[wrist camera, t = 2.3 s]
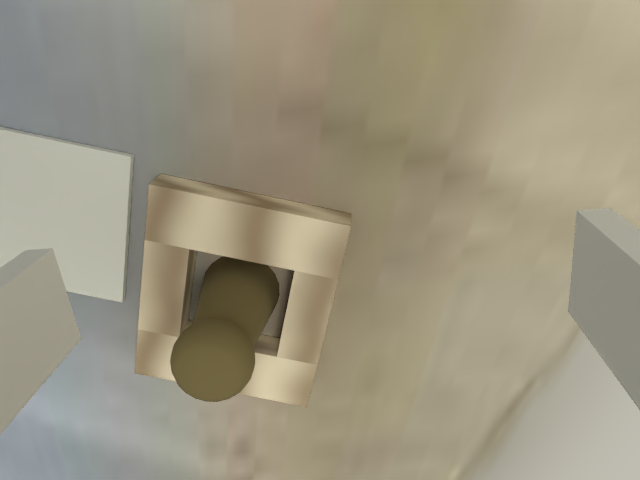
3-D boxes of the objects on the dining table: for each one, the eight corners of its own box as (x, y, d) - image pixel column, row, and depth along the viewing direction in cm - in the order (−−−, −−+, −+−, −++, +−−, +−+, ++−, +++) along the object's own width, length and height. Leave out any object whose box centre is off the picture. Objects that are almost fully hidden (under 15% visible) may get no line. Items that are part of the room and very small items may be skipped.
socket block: (145, 354, 45) (134, 373, 43) (160, 173, 38) (148, 184, 36) (309, 386, 45) (307, 407, 43) (351, 213, 39) (351, 226, 37)
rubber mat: (-25, 268, 42) (-30, 271, 42) (-35, 119, 38) (-41, 120, 37) (125, 298, 43) (122, 302, 42) (134, 154, 38) (130, 156, 37)
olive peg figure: (260, 333, 43) (233, 431, 33) (191, 302, 43) (142, 393, 33) (292, 274, 41) (273, 361, 31) (220, 240, 40) (176, 318, 30)
